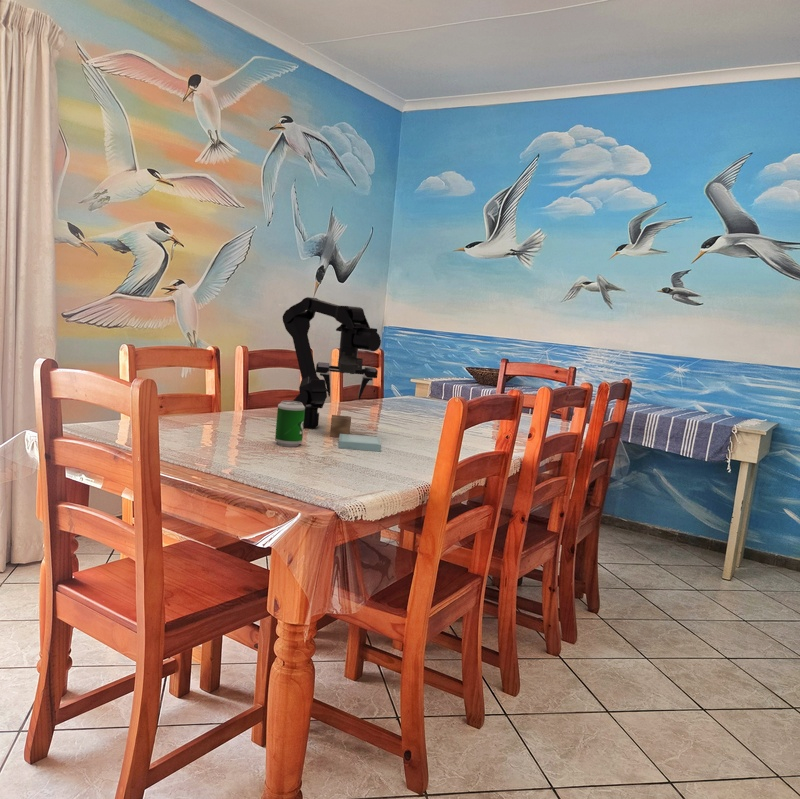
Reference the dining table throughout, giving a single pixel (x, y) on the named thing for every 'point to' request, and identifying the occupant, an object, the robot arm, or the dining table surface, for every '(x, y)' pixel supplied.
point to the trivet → (359, 442)
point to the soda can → (290, 423)
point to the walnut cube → (340, 425)
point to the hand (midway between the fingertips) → (344, 397)
